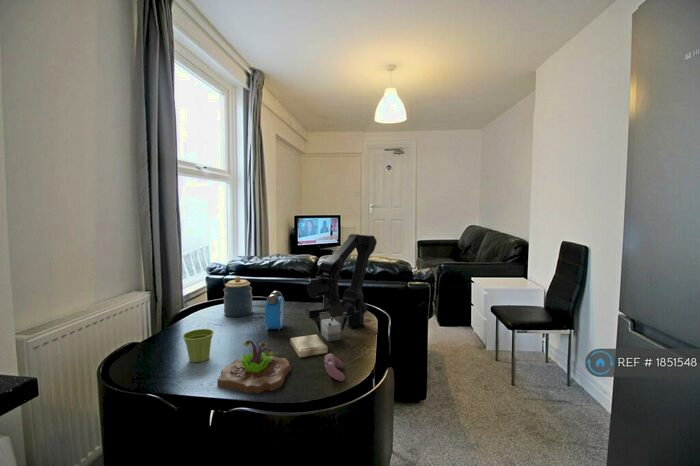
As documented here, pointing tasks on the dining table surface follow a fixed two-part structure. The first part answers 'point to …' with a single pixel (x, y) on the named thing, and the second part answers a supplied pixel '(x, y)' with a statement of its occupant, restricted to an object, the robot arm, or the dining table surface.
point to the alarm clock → (274, 311)
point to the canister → (237, 298)
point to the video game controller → (334, 367)
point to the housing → (331, 329)
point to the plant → (255, 371)
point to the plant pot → (198, 344)
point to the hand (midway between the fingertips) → (330, 332)
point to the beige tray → (308, 345)
